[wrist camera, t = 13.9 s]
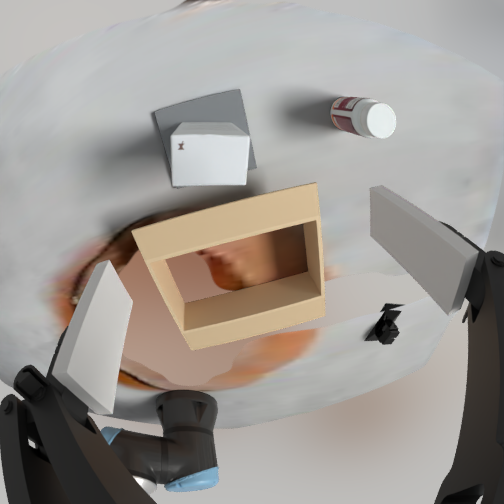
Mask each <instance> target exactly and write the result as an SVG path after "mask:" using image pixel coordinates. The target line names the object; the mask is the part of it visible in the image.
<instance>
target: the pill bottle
mask: <svg viewBox="0 0 504 504" xmlns="http://www.w3.org/2000/svg"><path fill="white" fill-rule="evenodd" d="M330 116H331V119H332V122H333V123H334V125H335V126H336V127H337V128H339V129H341V130H343V131H346V132H350V133H353V134H356V135H360V136H363V137H366V138H379V139H384V138H387V137H389V136H390V135H391V134H392V133H393V131H394V129H395V126H396V117H395V114H394V112H393V110H392V109H391V108H390V107H389V106H388V105H386V104H384V103H379V102H378V101H376V100H374V99H371V98H357V97H341V98H339V99H337V100H336V101H335V102H334V103H333V105H332V107H331V111H330Z"/></svg>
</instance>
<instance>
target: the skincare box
mask: <svg viewBox="0 0 504 504" xmlns="http://www.w3.org/2000/svg"><path fill="white" fill-rule="evenodd" d="M170 143H171V177H172V186H212V185H246V178H247V167H248V157H249V146H250V136H248V135H247V134H246V133H244V132H243V131H242V130H241V129H239V128H238V127H237V126H235V125H234V124H233V123H228V122H182V123H181V124H180V125H179V126H178V127H177V129H176V130H175V131H174V132H173V134H172V135H171V136H170Z"/></svg>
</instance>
